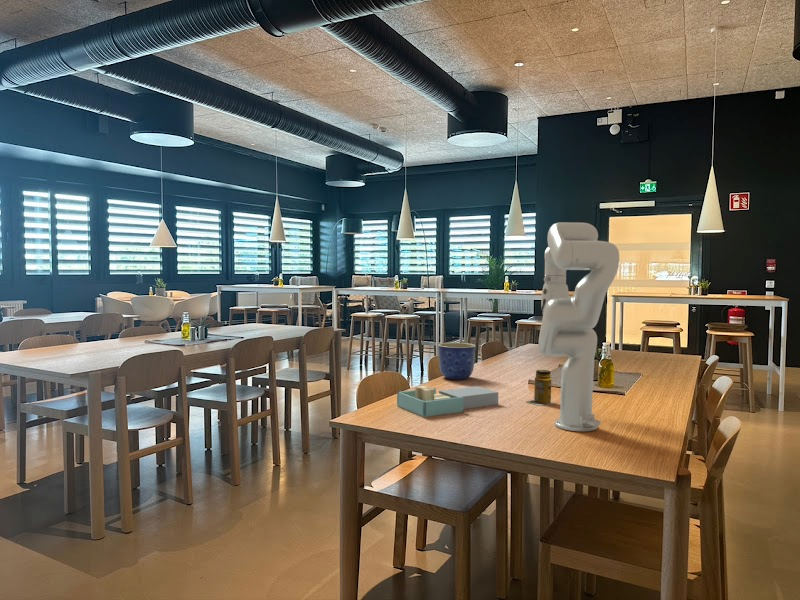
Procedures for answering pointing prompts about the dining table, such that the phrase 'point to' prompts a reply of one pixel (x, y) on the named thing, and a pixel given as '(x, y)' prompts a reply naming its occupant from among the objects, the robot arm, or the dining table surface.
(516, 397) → the dining table surface
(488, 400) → the grey rectangular block
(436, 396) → the tile
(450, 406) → the tray
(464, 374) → the planter
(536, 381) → the condiment
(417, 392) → the tile
